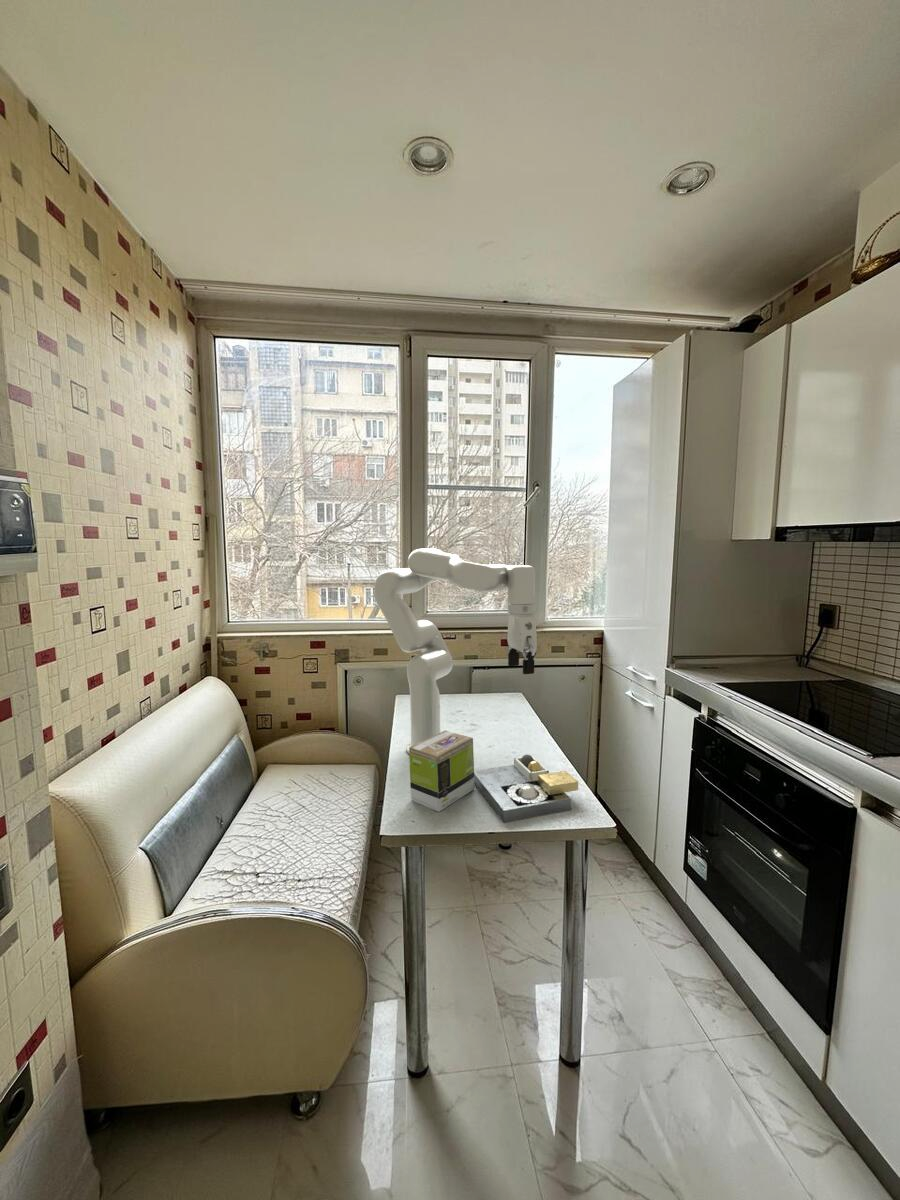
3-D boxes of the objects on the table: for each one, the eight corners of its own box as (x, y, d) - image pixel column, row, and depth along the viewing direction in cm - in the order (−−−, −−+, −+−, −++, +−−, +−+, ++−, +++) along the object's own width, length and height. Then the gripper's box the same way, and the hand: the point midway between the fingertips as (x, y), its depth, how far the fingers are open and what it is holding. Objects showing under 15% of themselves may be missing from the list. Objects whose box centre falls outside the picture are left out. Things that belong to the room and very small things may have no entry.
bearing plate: (472, 781, 138) (472, 770, 137) (531, 772, 143) (531, 762, 143) (503, 822, 117) (503, 810, 116) (571, 810, 122) (571, 798, 122)
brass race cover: (538, 783, 129) (538, 774, 129) (565, 779, 131) (565, 770, 131) (549, 794, 123) (549, 786, 123) (578, 790, 125) (578, 781, 125)
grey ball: (518, 765, 140) (519, 753, 139) (530, 763, 141) (530, 751, 140) (524, 770, 136) (524, 758, 136) (535, 768, 137) (536, 756, 137)
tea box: (446, 779, 139) (446, 728, 137) (475, 790, 133) (475, 737, 131) (409, 800, 127) (408, 745, 126) (438, 813, 121) (438, 755, 120)
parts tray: (514, 765, 141) (514, 758, 140) (531, 762, 142) (531, 755, 142) (530, 781, 131) (530, 773, 131) (548, 778, 132) (548, 770, 132)
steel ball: (513, 798, 127) (515, 782, 125) (531, 795, 128) (533, 779, 127) (522, 812, 122) (524, 795, 121) (540, 809, 124) (542, 792, 122)
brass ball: (525, 771, 136) (525, 759, 135) (537, 770, 137) (537, 758, 136) (531, 777, 132) (531, 764, 132) (543, 775, 133) (543, 763, 133)
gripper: (548, 612, 131) (547, 675, 133) (520, 605, 147) (519, 662, 149) (522, 614, 129) (521, 678, 131) (496, 606, 145) (496, 663, 147)
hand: (520, 669), depth 140 cm, fingers open, 9 cm apart
